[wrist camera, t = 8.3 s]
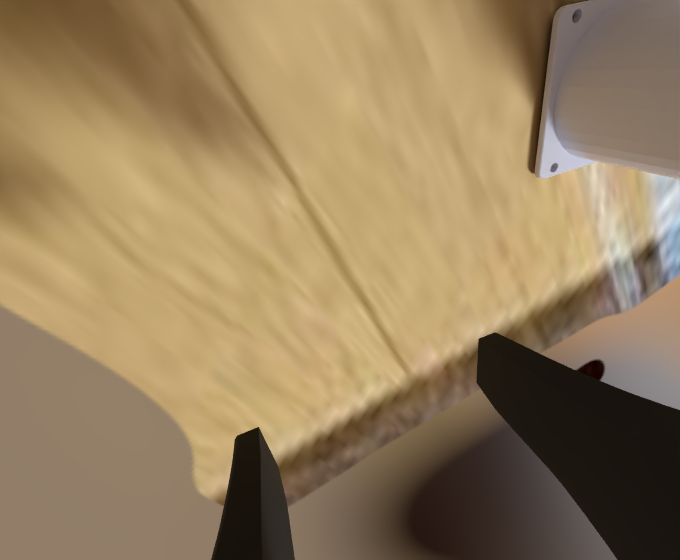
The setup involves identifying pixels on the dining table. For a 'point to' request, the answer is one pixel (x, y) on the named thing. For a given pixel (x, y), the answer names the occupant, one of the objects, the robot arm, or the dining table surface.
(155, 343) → the dining table surface
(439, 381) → the dining table surface
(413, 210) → the dining table surface
